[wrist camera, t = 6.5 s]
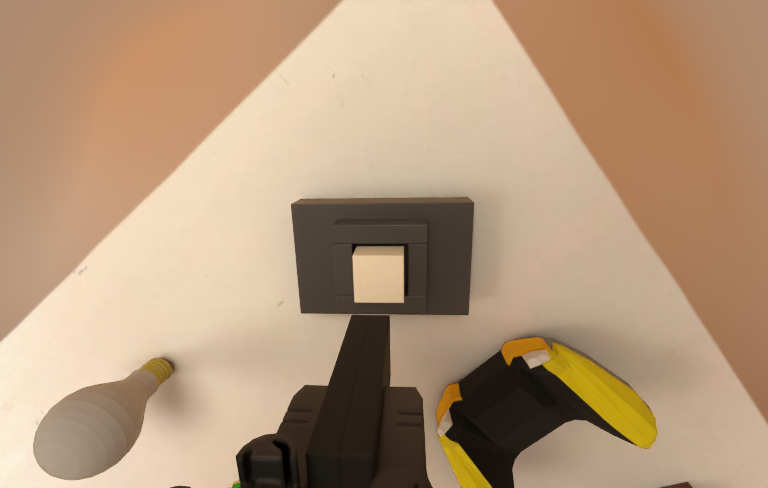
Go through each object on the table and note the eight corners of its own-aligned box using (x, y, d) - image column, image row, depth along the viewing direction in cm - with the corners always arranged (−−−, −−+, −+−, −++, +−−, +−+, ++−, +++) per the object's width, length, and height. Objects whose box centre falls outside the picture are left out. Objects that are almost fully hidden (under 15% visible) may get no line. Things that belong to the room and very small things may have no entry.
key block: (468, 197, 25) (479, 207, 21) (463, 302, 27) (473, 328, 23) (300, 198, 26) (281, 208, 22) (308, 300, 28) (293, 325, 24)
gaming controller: (630, 386, 28) (551, 301, 27) (682, 441, 23) (587, 340, 22) (483, 481, 32) (405, 411, 30) (498, 549, 27) (405, 468, 25)
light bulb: (128, 332, 30) (-4, 423, 20) (192, 339, 30) (89, 433, 20) (136, 388, 31) (17, 496, 22) (197, 394, 31) (103, 507, 22)
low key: (403, 245, 23) (403, 255, 21) (404, 289, 23) (404, 303, 21) (356, 245, 23) (352, 255, 21) (358, 289, 24) (354, 302, 22)
